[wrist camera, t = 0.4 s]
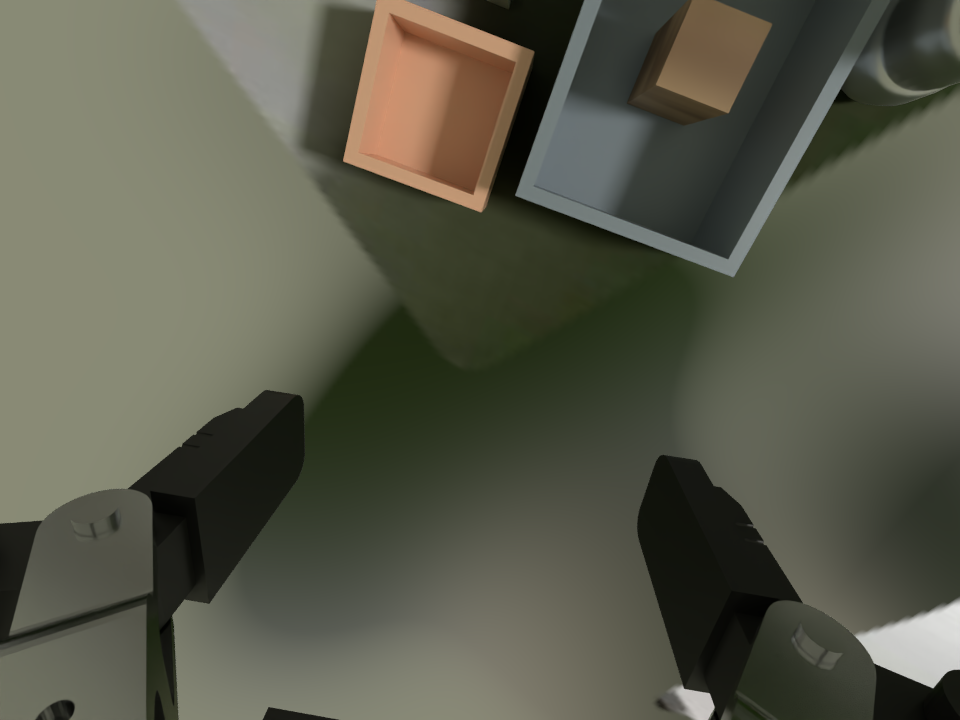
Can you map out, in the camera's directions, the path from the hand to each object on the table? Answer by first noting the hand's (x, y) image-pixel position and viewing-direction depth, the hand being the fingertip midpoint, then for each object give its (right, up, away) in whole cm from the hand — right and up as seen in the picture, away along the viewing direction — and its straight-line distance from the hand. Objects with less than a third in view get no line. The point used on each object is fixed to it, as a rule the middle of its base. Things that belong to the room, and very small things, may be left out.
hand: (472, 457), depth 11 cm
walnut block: (+12, +20, +19) cm, 30 cm away
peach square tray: (-2, +19, +21) cm, 28 cm away
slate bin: (+12, +20, +19) cm, 30 cm away
